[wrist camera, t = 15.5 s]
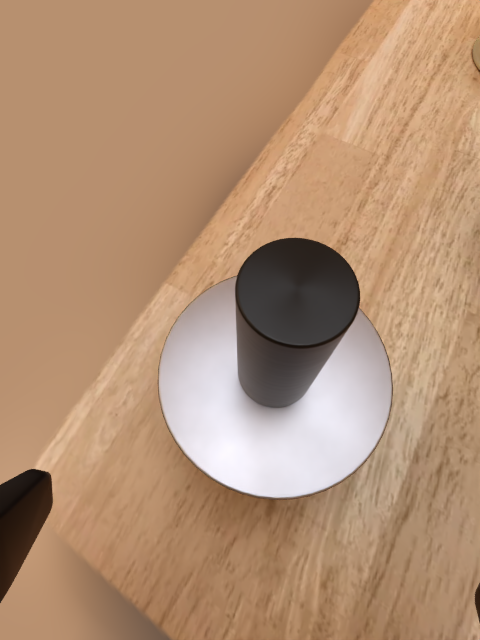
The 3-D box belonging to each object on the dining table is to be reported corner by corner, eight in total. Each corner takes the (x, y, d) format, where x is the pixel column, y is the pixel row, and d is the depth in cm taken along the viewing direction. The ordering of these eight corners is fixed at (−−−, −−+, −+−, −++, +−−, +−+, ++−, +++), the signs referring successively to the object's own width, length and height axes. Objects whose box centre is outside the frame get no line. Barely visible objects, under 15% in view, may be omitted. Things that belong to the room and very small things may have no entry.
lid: (431, 443, 13) (597, 403, 7) (202, 542, 12) (161, 597, 6) (325, 252, 16) (376, 110, 10) (135, 316, 15) (63, 198, 9)
